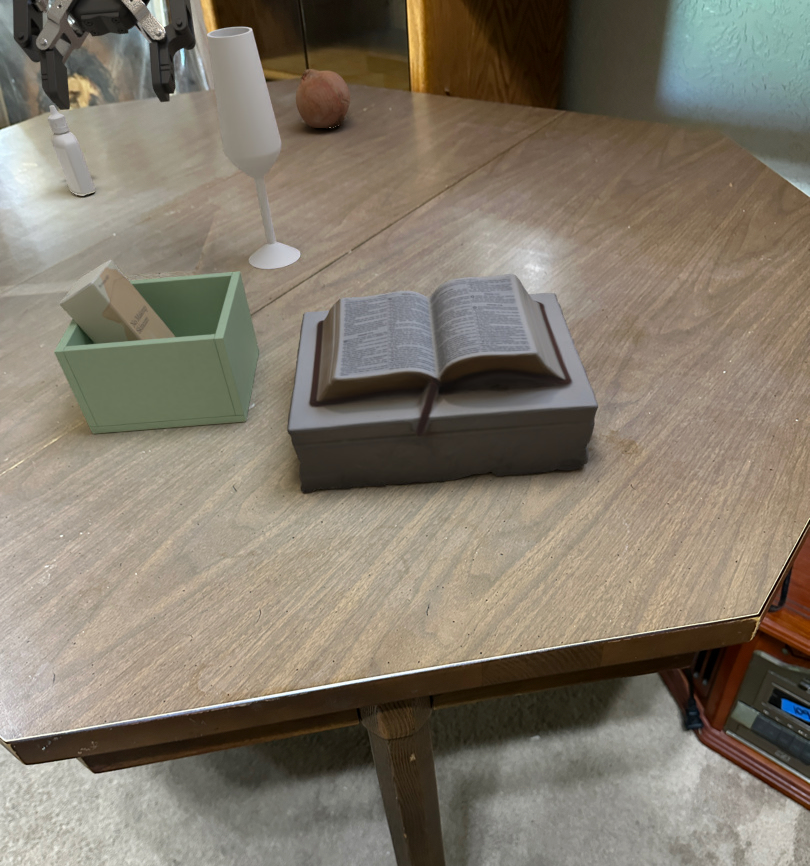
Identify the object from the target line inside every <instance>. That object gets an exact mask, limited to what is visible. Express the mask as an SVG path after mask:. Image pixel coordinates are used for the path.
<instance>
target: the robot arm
mask: <svg viewBox="0 0 810 866" xmlns="http://www.w3.org/2000/svg"><path fill="white" fill-rule="evenodd" d="M49 1H50V0H12V29H13V33H12V35H13V39H14V41H15V43H16V45H18V46H19V47H20V48H21V49H22V51H23V52H24V53H25V55H26V56H27V58H29V59H30V61H31V62H33V63H40V65H39V66H40V75H41V88H42V90H43V92H44V94H45V95H46V96H47V97H48V99H49V100H50V101H51V102H52V103H53V104H54V106H55V107H57V108H58V109H59V110H60V111H67V110H70V109H71V103H70V90H69V89H70V88H69V76H68V75H69V74H68V67H67V66H66V65H65V64H66V63H67V61H68V59H69V58H70V56H71V55H72V53H73V51H74V50H79V49H81V47H82V46H83V44H84V42H85V41H86V39H87V38H88V36H89V34H90V36H91V37H102V36H104V35H108V34H110V33H111V34H116V35H127V34H129V31H130V30H131V29H133V28H134V27H135V28H136V29H137V30H138V32H139V33H140V34H141V35H142V36H143V38H145V40H146V41H147V42H148V47H149V59H150V61H149V62H150V74H151V75H150V76H151V85H152V90H153V92H154V94H155V96H156V97H157V99H158V100H159V102H160V103H168V102H170V99H171V97H170V95H173V94H175V91H176V88H177V86H176V85H177V83H176V76H175V75H176V73H175V72H176V71H175V60H174V59H175V55H176V53H177V52H178V51H180V50H183V49H184V50H186V51H191V50H193V49H195V47H196V45H197V41H196V34H195V27H194V19H193V11H192V3H191V0H168V4H169V12H170V19H171V23H169V24H167V25H165V26H163V25H162V24H161V23H160V22H159V20H158V19H157V17H155V15H153V14H152V12H151V11H150V10H149V8H148V5H149V4H150V2H151V0H54V1H53V3H52V4H51V5H50V7H49V9H48V3H49ZM44 14H46V17H47V21H46V23H45V24H44ZM69 16H70V18H71V19H72V20H73V23H72V25H70V23H69V20H68V19H69Z"/></svg>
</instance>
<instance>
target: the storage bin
mask: <svg viewBox="0 0 810 866" xmlns="http://www.w3.org/2000/svg"><path fill="white" fill-rule="evenodd" d="M129 282H130V283H131V284H132V285H133V286H134V288H135V289H136V290H137V291H138V292H139V294H140V295H141V296H142V297H143V298H144V300H145V301H146V302H147V303H148V304H149V305H150V307H151V308H152V309H153V310H154V312H155V313H156V314H157V315H158V316H159V317H160V319H161V320H162V321H163V322H164V323H165V325H166V326H167V327H168V328H169V330H170V331H171V332H172V333H173V334H174V336H175V337H174V338H162V339H150V340H138V341H126V342H113V343H101V344H95V343H94V342H93V340H92V339H91V338H90V337H89V336H88V335H87V334H86V333H85V332H84V331H83V330H82V329H81V327H80V326H79V325H78V324H77V323H76V322H75V321H74V320H73V319H72V318H71V321H70V322H69V324H68V326H67V328H66V330H65V331H64V333H63V334H62V337H61V339H60V340H59V342H58V344H57V346H56V347H55V348H54V351H53V353H54V355H55V357H56V359H57V361H58V363H59V366H60V368H61V370H62V372H63V374H64V376H65V378H66V381H67V382H68V385H69V387H70V389H71V391H72V393H73V396H74V398H75V400H76V403H77V404H78V406H79V408H80V410H81V412H82V413H81V414H83V417H84V418H85V421H86V423H87V425H88V427H89V429H90V432H91V433H92V435H96V434H108V433H120V432H122V433H123V432H133V431H145V430H158V429H159V430H160V429H168V428H169V429H171V428H183V427H184V428H185V427H195V426H208V425H218V424H219V425H220V424H234V423H244V422H247V418H248V413H249V407H250V402H251V398H252V397H251V395H252V391H253V386H254V382H255V381H254V380H255V376H256V370H257V364H258V359H259V354H260V347H259V343H258V339H257V335H256V331H255V326H254V322H253V318H252V314H251V310H250V307H249V306H250V305H249V301H248V297H247V294H246V288H245V285H244V280H243V276H242V273H241V271H240V270H238V271H227V272H217V273H216V272H215V273H203V274H202V273H201V274H192V275H191V274H190V275H179V276H167V277H155V278H145V279H131V280H129Z"/></svg>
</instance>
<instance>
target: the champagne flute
mask: <svg viewBox="0 0 810 866" xmlns="http://www.w3.org/2000/svg"><path fill="white" fill-rule="evenodd" d="M206 36H207V37H206V38H207V46H208V53H209V59H210V67H211V73H212V82H213V89H214V95H215V102H216V108H217V109H216V111H217V116H218V123H219V130H220V131H219V132H220V138H221V143H222V151H223V153H224V156H225V157H226V158H227V160H228V161H229V162H230V163H231V164H232V165H233V166H234V167H235V168H236V169H238V170H239V171H240V172H242V173H243V174H245V175H246V176H248V177H250V178H253V180H254V181H253V182H254V186H255V191H256V196H257V201H258V205H259V211H260V215H261V219H262V225H263V230H264V235H265V240H266V243H265V244H263V245H262V246H260V247H259V248H258V249H257V250H256V251H254V252H253V253H252V254H251V255H250V256H249V258H248V263H249V265H250V266H252V267H254V268H257V269H260V270H274V269H281V268H285V267H287V266H291V265H292V264H294V263H296V262H297V261H298V260H299V259H300V257H301V251H300V250H299V249H297V248H296V247H294V246H291V245H288V244H285V243H282V242H279V241H277V239H276V238H277V237H276V232H275V228H274V223H273V217H272V212H271V208H270V207H271V206H270V202H269V197H268V192H267V186H266V183H265V182H266V181H265V177H266V176H267V174H269V173H270V171H271V170H272V168H273V167H274V165H275V164H276V163H277V161H278V158H279V155H280V154H281V150H282V139H281V135H280V131H279V127H278V124H277V119H276V115H275V112H274V107H273V104H272V101H271V97H270V92H269V89H268V85H267V81H266V77H265V73H264V70H263V65H262V62H261V58H260V54H259V50H258V46H257V43H256V39H255V35H254V31H253V28H252V27H248V26H231V27H224V28H218V29H215V30H212V31H210V32H208V33H207V34H206Z"/></svg>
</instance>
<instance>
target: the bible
mask: <svg viewBox="0 0 810 866" xmlns="http://www.w3.org/2000/svg"><path fill="white" fill-rule="evenodd" d="M557 296H558V295H557V294H556V293H555V292H538V293H528V291H527V290H526V288H525V287H524V284H523V283H522V281H521V280H520V278H519V277H518V276H517V275H516V274H514V273H507V274H498V275H488V276H467V277H458V278H457V277H456V278H452V279H450V280H447V281H445V282H443V283H441V284H440V285H439V286H438V287H436V288H435V289H434V291H433V293H432V294H430V296H427V295H424V294H423V293H420V292H419V291H413V290H397V291H390V292H386V293H380V294H373V295H372V294H371V295H365V296H349V297H341V298H339V299H338V300H337V301H336V302H335V303H334V304H333V305H332V306H331V307H330V309H328V310H318V311H306V312H304V313H303V314H302V319H301V325H300V331H299V339H298V340H299V341H298V347H297V355H296V362H295V373H294V377H293V388H292V393H291V397H290V404H289V410H288V416H287V425H286V430H287V434H288V435H289V436H290V440H291V444H292V446H293V447H292V448H293V449H294V451H295V454H296V457H297V459H298V462H299V472H298V477H299V480H300V492H301V493H302V494H307V493H313V492H314V491H316V490H319V489H321V490H331V489H352V487H359V488H364V487H375V486H378V487H379V486H380V487H386V485H398V486H401V485H409V484H414V483H427V484H428V483H434V482H439V483H443V482H445V481H449V480H453V481H454V480H459V479H461V478H465V477H469V476H472V475H483V474H488V473H490V472H491V473H492V474H494V475H495V476H496V477H504V476H508V475H515V476H518V475H528V474H540V473H541V474H542V473H547V472H553V471H555V470H559V471H573V470H583V467H582V466H585V465H586V464H588V463H589V462H588V461H589V458H590V457H589V448H588V444H589V443H590V442H591V439H592V435H593V432H594V428H595V425H596V424H595V423H596V421H595V418H596V414H597V412H598V410H599V409H598V408H599V403H598V401H597V398H596V396H595V395H596V394H595V392H594V388H593V386H592V385H591V383H590V379H589V378H588V373H587V371H586V368H585V366H584V364H583V362H582V360H581V357H580V354H579V352H578V349H577V348H576V345H575V341H574V339H573V336H572V334H571V331H570V328H569V326H568V323H567V321H566V319H565V316H564V312H563V310H562V307H561V304H560V303H559V302H558V297H557Z"/></svg>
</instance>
